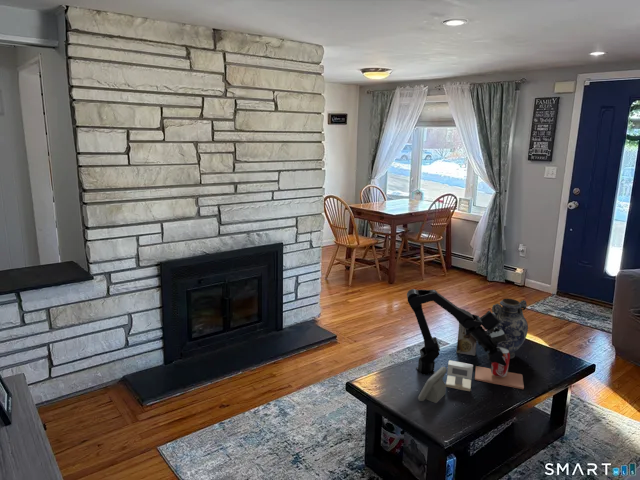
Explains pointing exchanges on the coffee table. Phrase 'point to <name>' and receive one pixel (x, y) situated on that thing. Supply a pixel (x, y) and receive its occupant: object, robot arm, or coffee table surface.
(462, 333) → the coffee box
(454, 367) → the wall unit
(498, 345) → the decorative vase
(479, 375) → the pad
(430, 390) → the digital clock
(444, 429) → the coffee table surface
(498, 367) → the soda can
